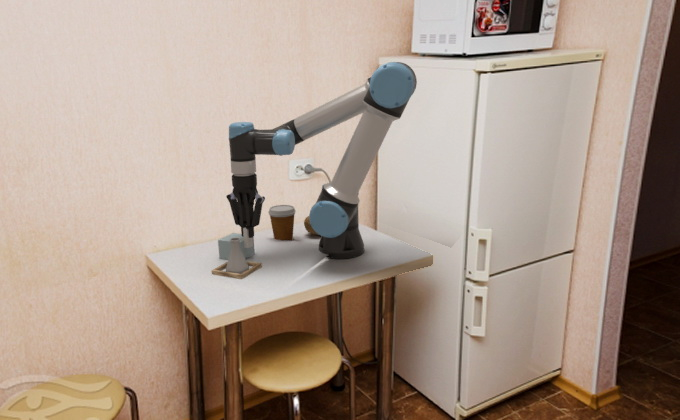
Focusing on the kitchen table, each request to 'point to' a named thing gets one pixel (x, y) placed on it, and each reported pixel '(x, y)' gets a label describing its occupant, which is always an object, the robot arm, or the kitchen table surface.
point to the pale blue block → (226, 246)
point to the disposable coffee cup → (282, 221)
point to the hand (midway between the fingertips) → (248, 246)
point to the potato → (309, 226)
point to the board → (234, 275)
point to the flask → (236, 258)
